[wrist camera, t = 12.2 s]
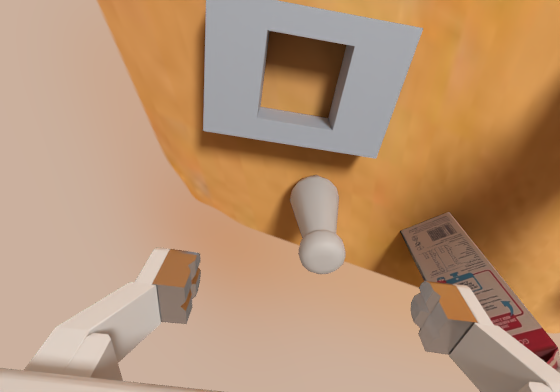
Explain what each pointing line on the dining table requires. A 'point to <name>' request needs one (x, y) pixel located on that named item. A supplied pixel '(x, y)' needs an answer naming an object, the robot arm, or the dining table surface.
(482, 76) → the dining table surface
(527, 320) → the juice carton
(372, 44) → the socket board
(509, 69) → the dining table surface
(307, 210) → the salt shaker
